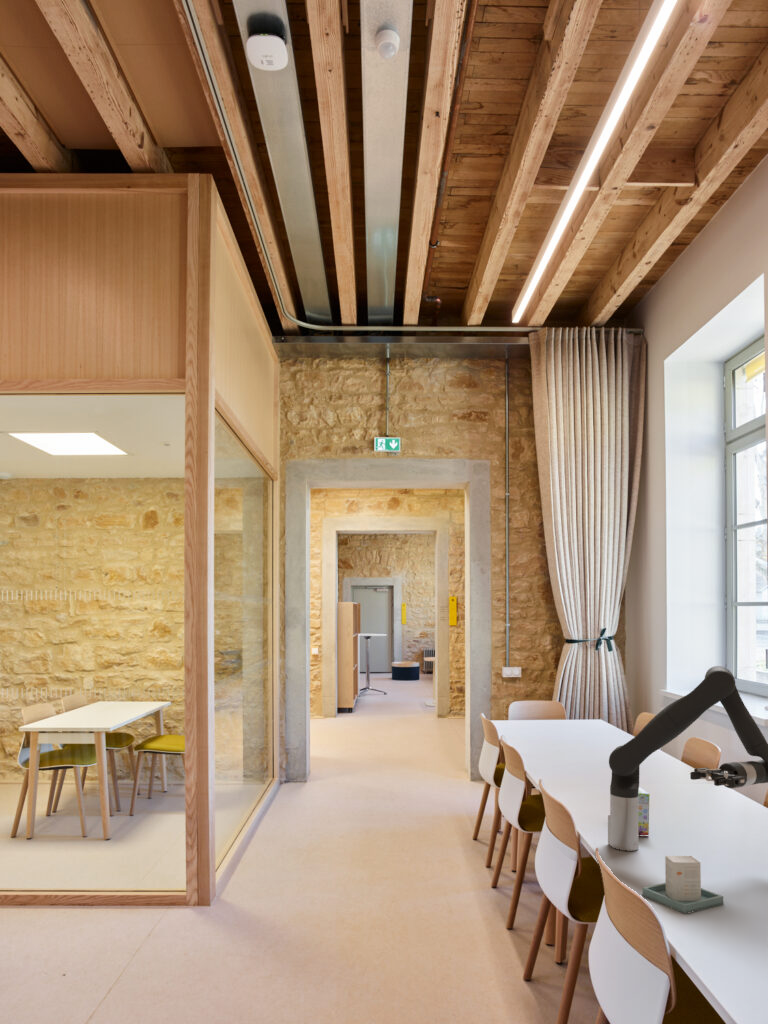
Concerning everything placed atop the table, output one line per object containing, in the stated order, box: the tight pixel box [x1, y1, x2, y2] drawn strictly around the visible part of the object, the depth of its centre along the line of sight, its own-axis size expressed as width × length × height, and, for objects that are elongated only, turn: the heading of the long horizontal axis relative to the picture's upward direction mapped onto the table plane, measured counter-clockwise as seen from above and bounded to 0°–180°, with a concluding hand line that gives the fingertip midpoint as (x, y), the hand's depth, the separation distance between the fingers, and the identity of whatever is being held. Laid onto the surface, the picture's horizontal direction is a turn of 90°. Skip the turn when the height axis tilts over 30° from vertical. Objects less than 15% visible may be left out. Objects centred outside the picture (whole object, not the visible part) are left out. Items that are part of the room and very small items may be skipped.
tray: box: [642, 882, 724, 914], centre depth 225 cm, size 15×16×2 cm
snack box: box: [638, 786, 650, 835], centre depth 296 cm, size 21×6×15 cm, turn 179°
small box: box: [664, 855, 702, 901], centre depth 225 cm, size 8×6×10 cm
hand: (703, 779), depth 243 cm, fingers open, 8 cm apart
